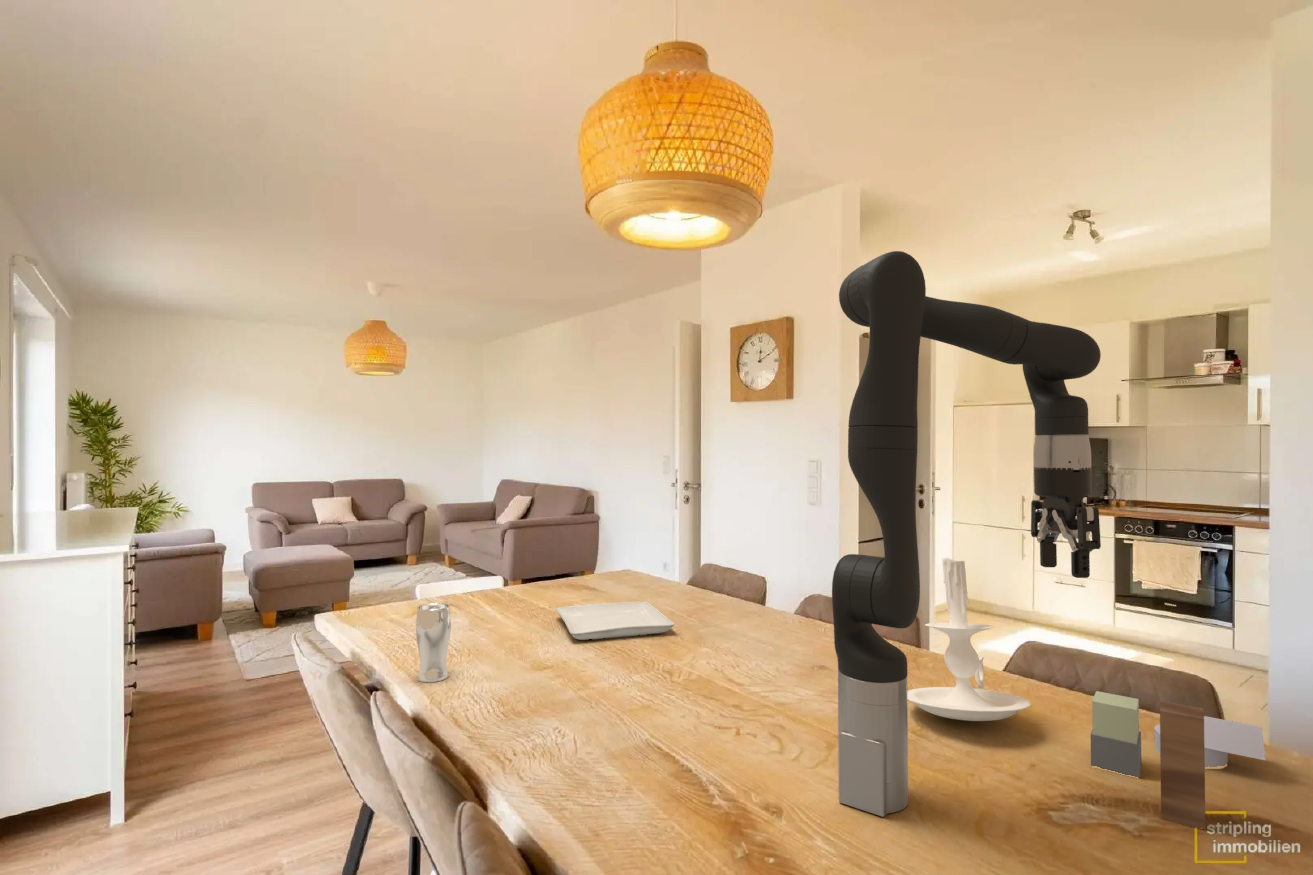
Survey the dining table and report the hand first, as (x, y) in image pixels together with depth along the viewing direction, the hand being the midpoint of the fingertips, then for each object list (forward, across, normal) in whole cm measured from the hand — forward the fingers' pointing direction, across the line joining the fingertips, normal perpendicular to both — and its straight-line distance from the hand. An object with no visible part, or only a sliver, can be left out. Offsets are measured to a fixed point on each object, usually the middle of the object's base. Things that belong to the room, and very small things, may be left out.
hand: (1064, 572), depth 102 cm
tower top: (+25, -1, +8) cm, 26 cm away
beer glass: (+29, -37, -110) cm, 120 cm away
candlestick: (+29, -18, -7) cm, 35 cm away
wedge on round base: (+30, -4, +23) cm, 38 cm away
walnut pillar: (+30, +13, +8) cm, 33 cm away
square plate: (+30, -79, -77) cm, 114 cm away
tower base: (+30, -1, +8) cm, 31 cm away
